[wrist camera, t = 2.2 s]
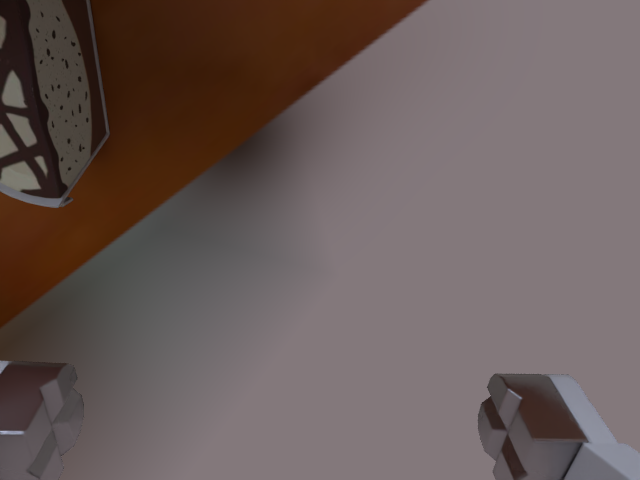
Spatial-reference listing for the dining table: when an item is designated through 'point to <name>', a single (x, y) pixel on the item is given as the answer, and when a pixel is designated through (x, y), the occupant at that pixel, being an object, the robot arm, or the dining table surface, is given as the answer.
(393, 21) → the dining table surface
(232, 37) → the dining table surface
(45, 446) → the robot arm
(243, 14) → the dining table surface
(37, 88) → the food container
